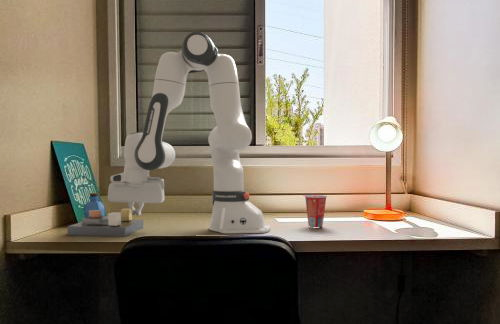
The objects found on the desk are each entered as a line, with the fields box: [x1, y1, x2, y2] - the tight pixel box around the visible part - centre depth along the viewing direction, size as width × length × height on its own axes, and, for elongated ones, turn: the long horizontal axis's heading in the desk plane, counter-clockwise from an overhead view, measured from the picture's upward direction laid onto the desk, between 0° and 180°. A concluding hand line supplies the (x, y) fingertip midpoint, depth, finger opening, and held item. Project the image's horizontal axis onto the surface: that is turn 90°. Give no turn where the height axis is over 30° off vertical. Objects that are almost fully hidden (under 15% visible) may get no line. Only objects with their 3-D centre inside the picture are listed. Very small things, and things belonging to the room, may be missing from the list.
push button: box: [89, 210, 101, 219], centre depth 129 cm, size 4×4×2 cm
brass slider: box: [120, 208, 133, 221], centre depth 134 cm, size 3×3×4 cm
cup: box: [301, 194, 328, 228], centre depth 140 cm, size 9×8×12 cm
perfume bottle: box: [82, 192, 106, 218], centre depth 146 cm, size 6×6×12 cm
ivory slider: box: [107, 211, 121, 226], centre depth 125 cm, size 3×3×4 cm
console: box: [67, 215, 144, 237], centre depth 130 cm, size 20×16×5 cm
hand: (136, 214), depth 133 cm, fingers closed
